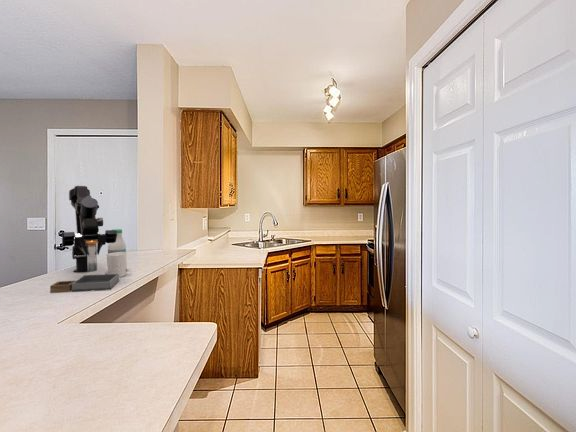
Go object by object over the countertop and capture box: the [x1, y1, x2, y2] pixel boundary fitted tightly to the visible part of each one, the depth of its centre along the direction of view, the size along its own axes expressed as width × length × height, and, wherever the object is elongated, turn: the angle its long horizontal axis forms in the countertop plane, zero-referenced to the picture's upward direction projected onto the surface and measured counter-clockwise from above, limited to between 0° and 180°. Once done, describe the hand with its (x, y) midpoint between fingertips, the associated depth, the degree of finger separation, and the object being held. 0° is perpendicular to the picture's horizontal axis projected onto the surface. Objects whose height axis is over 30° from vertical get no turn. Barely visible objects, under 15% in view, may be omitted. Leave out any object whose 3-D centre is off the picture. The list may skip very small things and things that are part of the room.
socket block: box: [49, 280, 76, 294], centre depth 126 cm, size 6×6×2 cm
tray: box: [71, 274, 120, 293], centre depth 131 cm, size 13×13×3 cm
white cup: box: [106, 252, 127, 278], centre depth 147 cm, size 8×8×10 cm
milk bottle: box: [107, 228, 128, 271], centre depth 155 cm, size 8×8×20 cm
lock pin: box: [85, 240, 98, 272], centre depth 129 cm, size 4×4×12 cm
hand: (92, 254), depth 128 cm, fingers closed on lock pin, 3 cm apart
